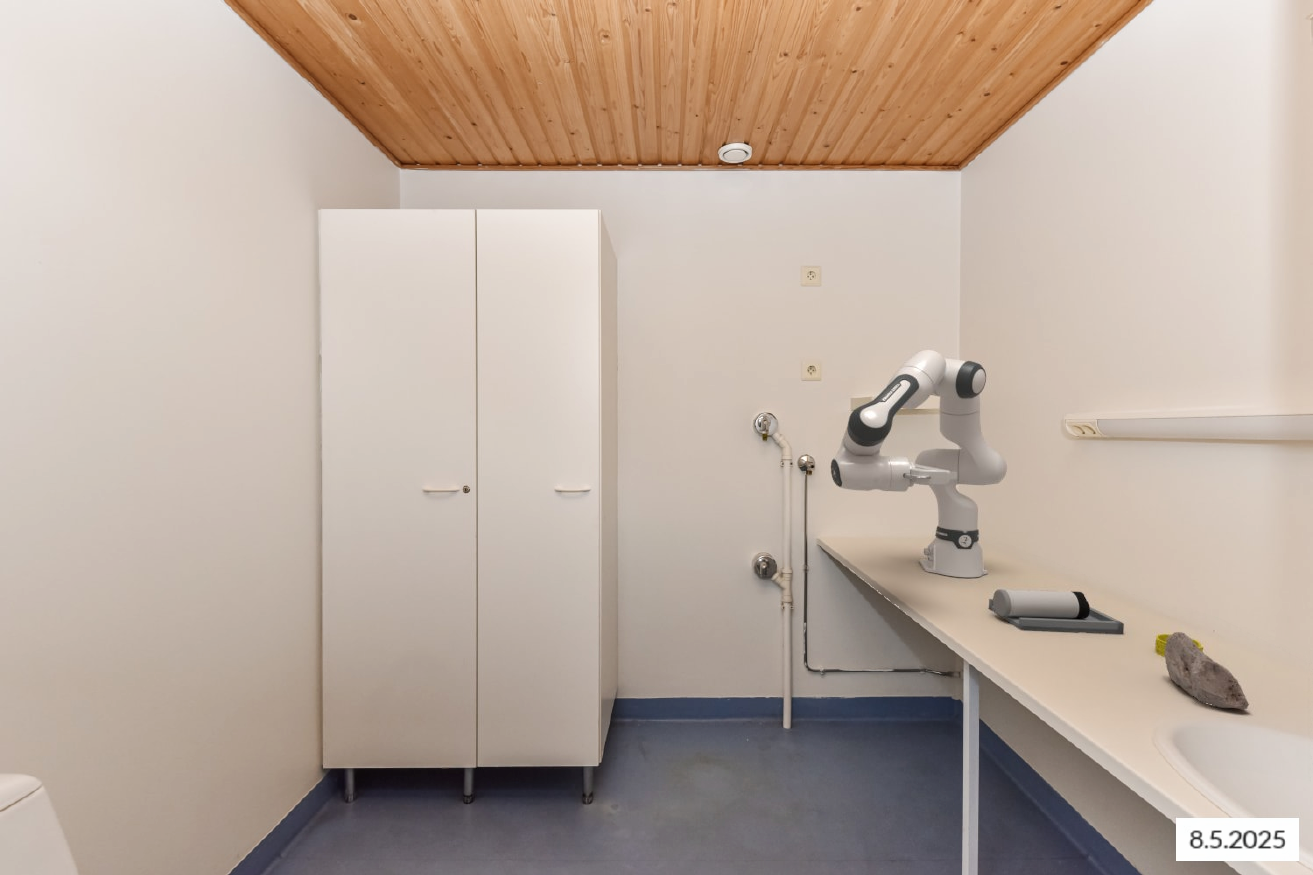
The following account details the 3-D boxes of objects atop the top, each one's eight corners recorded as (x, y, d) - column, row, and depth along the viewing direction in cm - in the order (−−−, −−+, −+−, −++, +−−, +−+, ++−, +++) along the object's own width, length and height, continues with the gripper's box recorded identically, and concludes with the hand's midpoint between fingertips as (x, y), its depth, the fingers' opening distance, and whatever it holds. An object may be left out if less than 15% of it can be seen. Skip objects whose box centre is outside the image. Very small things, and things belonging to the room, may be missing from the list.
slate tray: (988, 608, 154) (989, 598, 154) (1079, 612, 153) (1080, 602, 153) (1021, 630, 139) (1021, 619, 138) (1123, 634, 137) (1123, 623, 137)
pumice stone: (1254, 717, 98) (1256, 656, 98) (1196, 709, 101) (1199, 649, 101) (1205, 679, 113) (1207, 626, 112) (1155, 673, 115) (1157, 621, 115)
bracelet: (1159, 659, 123) (1159, 642, 123) (1151, 646, 130) (1152, 631, 130) (1207, 666, 119) (1207, 650, 119) (1196, 653, 126) (1197, 637, 126)
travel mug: (999, 622, 146) (1084, 624, 145) (1009, 606, 141) (1097, 609, 140) (989, 599, 150) (1072, 601, 149) (998, 584, 146) (1084, 586, 145)
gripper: (912, 464, 143) (973, 465, 142) (886, 459, 163) (939, 460, 162) (911, 490, 143) (972, 492, 142) (886, 482, 164) (939, 483, 162)
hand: (954, 475), depth 152 cm, fingers closed
